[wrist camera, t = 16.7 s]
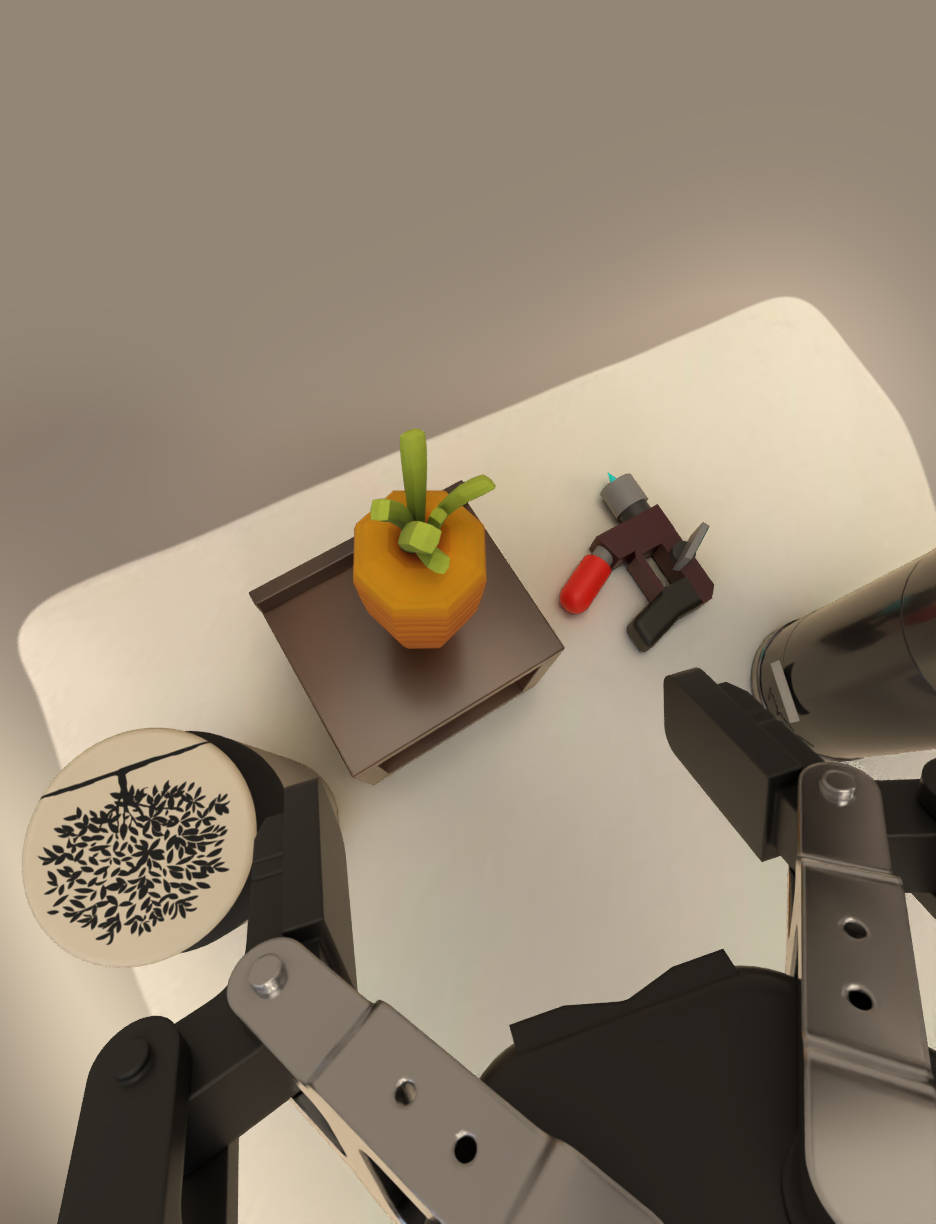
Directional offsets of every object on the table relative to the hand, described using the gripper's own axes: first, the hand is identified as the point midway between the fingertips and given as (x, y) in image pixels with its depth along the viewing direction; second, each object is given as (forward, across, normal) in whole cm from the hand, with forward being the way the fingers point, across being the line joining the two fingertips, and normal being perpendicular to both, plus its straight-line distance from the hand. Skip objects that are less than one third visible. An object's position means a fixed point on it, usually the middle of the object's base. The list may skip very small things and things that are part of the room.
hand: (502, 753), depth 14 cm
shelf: (+24, +1, +13) cm, 27 cm away
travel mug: (+19, +11, +18) cm, 29 cm away
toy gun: (+26, -14, +11) cm, 32 cm away
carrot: (+17, 0, +6) cm, 18 cm away
